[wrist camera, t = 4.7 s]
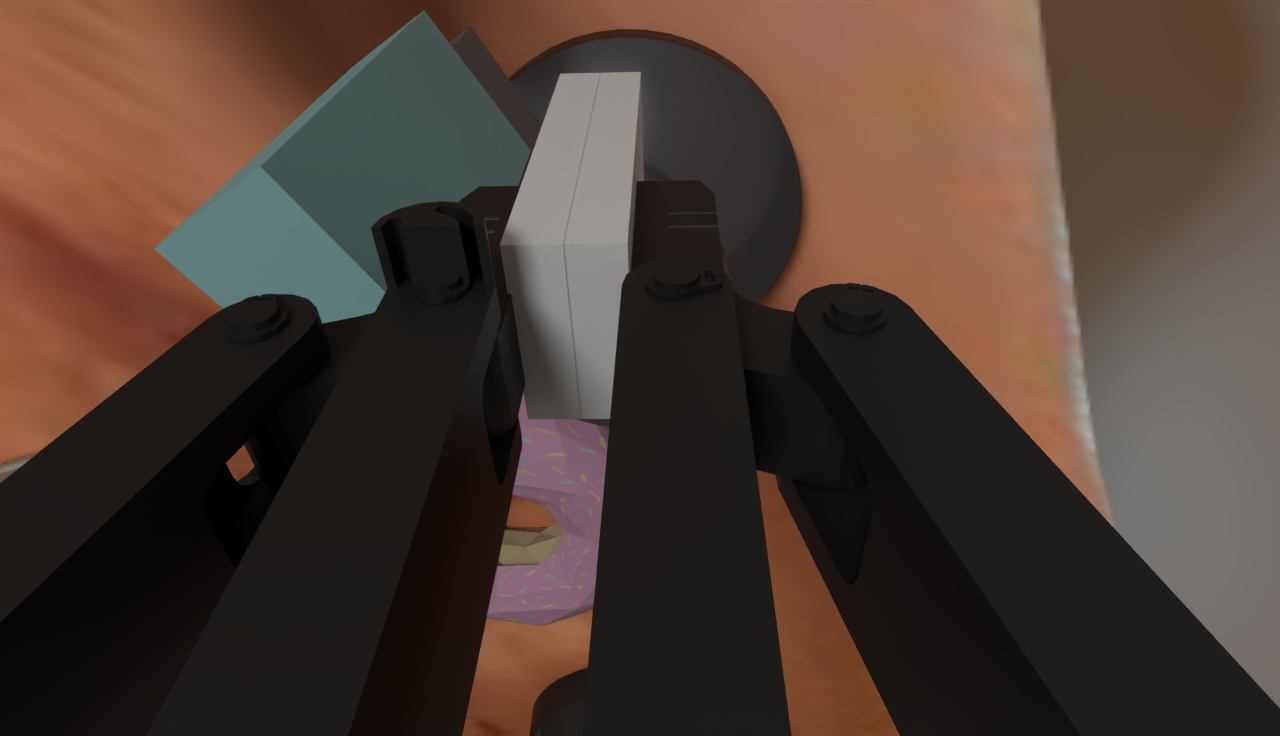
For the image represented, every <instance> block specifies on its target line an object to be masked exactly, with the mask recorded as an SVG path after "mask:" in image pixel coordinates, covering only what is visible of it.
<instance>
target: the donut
mask: <svg viewBox="0 0 1280 736" xmlns="http://www.w3.org/2000/svg"><path fill="white" fill-rule="evenodd" d="M518 416H519V421H520V427H521V433H522V450H521V455H520V460H519V465H518V469H517V474H516V479H515V484H514V489H513V493H512V495H513V496H516V497H520V498H523V499H526V500H529V501H533V502H536V503H539V504H542V505H543V506H544V507H545V508H546V509H547V511H548V512H549V513H550V514H551V515H552V517H553V518H554V519H555V520H556V521H557V522H556V523H554V524H553V525H551V526H550V527H546V528H523V529H505V532H504V537H503V541H502V546H501V551H500V556H499V561H498V565H497V570H496V575H495V580H494V585H493V589H492V594H491V599H490V604H489V609H488V613H487V618H490V619H497V620H503V621H510V622H517V623H524V624H531V625H538V626H544V625H547V624H550V623H553V622H556V621H560V620H563V619H566V618H569V617H572V616H575V615H578V614H581V613H584V612H586V611H588V610H590V609H592V608H593V605H594V594H595V582H596V571H597V560H598V548H599V537H600V526H601V514H602V503H603V492H604V480H605V469H606V458H607V446H608V435H609V427H607V426H600V425H595V424H591V423H587V422H584V421H581V420H578V419H528V417H527V411H526V404H525V398H524V392H523V396H522V401H521V405H520V409H519V414H518Z"/></svg>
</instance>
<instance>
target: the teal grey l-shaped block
mask: <svg viewBox="0 0 1280 736" xmlns="http://www.w3.org/2000/svg"><path fill="white" fill-rule="evenodd" d="M541 127H542V124H541V122H540V121H539V120H538V118H537V117H536V116H535V114H534V113H533V112H532V110H531V109H530V107H529V106H528V105H527V103H526V102H525V101H524V99H523V98H522V97H521V95H520V94H519V92H518V91H517V90H516V88H515V87H514V86H513V84H512V83H511V82H510V80H509V79H508V78H507V76H506V75H505V73H504V72H503V71H502V69H501V68H500V67H499V65H498V64H497V63H496V61H495V60H494V58H493V57H492V56H491V54H490V53H489V52H488V50H487V49H486V48H485V46H484V45H483V43H482V42H481V41H480V39H479V38H478V37H477V35H476V34H475V33H474V31H473V30H472V29H471V27H469V28H467V29H466V30H465V31H463V32H462V33H461V34H460V35H458V36H457V37H456V38H454V39H453V40H452V41H450V42H448V41H447V39H446V38H445V37H444V35H443V34H442V33H441V32H440V30H439V29H438V28H437V26H436V25H435V24H434V22H433V21H432V20H431V18H430V17H429V16H428V14H427V13H426V12H425V10H423V11H422V12H421V13H420V14H418V15H417V16H416V17H415V18H413V19H412V20H411V21H410V22H408V23H407V24H406V25H405V26H403V27H402V28H401V29H400V30H398V31H397V32H396V33H394V34H393V35H392V36H391V37H389V38H388V39H387V40H386V41H384V42H383V43H382V44H381V45H379V46H378V47H377V48H376V49H374V50H373V51H372V52H371V53H369V54H368V55H367V56H366V57H364V58H363V59H362V60H361V61H359V62H358V63H357V64H355V65H354V66H353V67H352V68H351V69H349V70H348V71H347V72H346V73H345V74H344V75H343V76H342V77H341V78H340V79H339V80H338V81H336V82H335V83H334V84H333V85H332V86H331V87H330V88H329V89H328V90H327V91H326V92H324V93H323V94H322V95H321V96H320V97H319V98H318V99H317V100H316V101H315V102H314V103H312V104H311V105H310V106H309V107H308V108H307V109H306V110H305V111H304V112H303V113H302V114H300V115H299V116H298V117H297V118H296V119H295V120H294V121H293V122H292V123H291V124H290V125H289V126H287V127H286V128H285V129H284V130H283V131H282V132H281V133H280V134H279V135H278V136H277V137H275V138H274V139H273V140H272V141H271V142H270V143H269V144H268V145H267V146H266V147H265V148H263V149H262V150H261V151H260V152H259V153H258V154H257V155H256V156H255V157H254V158H253V159H251V160H250V161H249V162H248V163H247V164H246V165H245V166H244V167H243V168H242V169H241V170H240V171H238V172H237V173H236V174H235V175H234V176H233V177H232V178H231V179H230V180H229V181H228V182H226V183H225V184H224V185H223V186H222V187H221V188H220V189H219V190H218V191H217V192H216V193H214V194H213V195H212V196H211V197H210V198H209V199H208V200H207V201H206V202H205V203H204V204H202V205H201V206H200V207H199V208H198V209H197V210H196V211H195V212H194V213H193V214H192V215H191V216H189V217H188V218H187V219H186V220H185V221H184V222H183V223H182V224H181V225H180V226H179V227H177V228H176V229H175V230H174V231H173V232H172V233H171V234H170V235H169V236H168V237H167V238H165V239H164V240H163V241H162V242H161V243H160V244H159V245H158V246H157V247H156V248H155V250H156V251H157V252H158V253H159V254H160V255H162V256H163V257H164V258H165V259H166V260H167V261H169V262H170V263H171V264H172V265H173V266H174V267H176V268H177V269H178V270H179V271H180V272H181V273H183V274H184V275H185V276H186V277H187V278H188V279H190V280H191V281H192V282H193V283H194V284H195V285H197V286H198V287H199V288H200V289H201V290H202V291H203V292H205V293H206V294H207V295H208V296H209V297H210V298H212V299H213V300H214V301H215V302H216V303H217V304H219V305H220V306H221V307H222V308H223V309H224V308H226V307H227V306H230V305H232V304H235V303H238V302H240V301H243V300H244V299H245V298H248V297H252V296H257V295H258V296H261V295H263V294H293V295H297V296H300V297H304V298H307V299H309V300H310V301H311V302H312V303H313V304H314V305H315V306H316V307H317V310H318V313H319V316H320V319H321V321H322V323H327V322H332V321H338V320H343V319H348V318H353V317H358V316H362V315H366V314H370V313H374V312H375V311H376V309H377V307H378V305H379V303H380V302H381V300H382V298H383V296H384V294H385V292H386V291H387V285H386V281H385V278H384V274H383V271H382V267H381V263H380V260H379V256H378V252H377V249H376V245H375V241H374V238H373V234H372V231H371V227H372V226H373V225H374V224H375V223H376V222H377V221H378V220H379V219H380V218H381V217H383V216H385V215H387V214H389V213H391V212H393V211H395V210H397V209H400V208H404V207H407V206H411V205H415V204H419V203H428V202H437V201H445V202H459V201H460V200H461V199H463V198H464V197H465V196H467V195H468V194H470V193H471V192H472V191H474V190H475V189H476V188H478V187H479V186H521V183H522V181H523V178H524V175H525V172H526V169H527V167H528V164H529V161H530V158H531V155H532V152H533V150H534V147H535V144H536V141H537V138H538V135H539V133H540V130H541ZM720 243H721V242H720ZM721 251H722V259H723V267H724V271H725V272H726V273H727V275H728V277H729V279H730V281H731V283H732V277H731V271H730V266H729V261H728V258H727V256H726V253H725V250H724V248H723V246H722V244H721ZM732 287H733V285H732ZM578 420H581V421H584V422H587V423H591V424H595V425H600V426H607V427H609V424H610V419H578Z"/></svg>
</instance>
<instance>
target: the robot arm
mask: <svg viewBox="0 0 1280 736" xmlns="http://www.w3.org/2000/svg"><path fill="white" fill-rule="evenodd" d="M371 231H372V234H373V238H374V241H375V245H376V249H377V252H378V256H379V260H380V263H381V267H382V271H383V274H384V278H385V281H386V285H387V291H386V292H385V294H384V296H383V298H382V300H381V302H380V303H379V305H378V307H377V309H376V311H375V312H374V313H370V314H366V315H362V316H358V317H353V318H348V319H343V320H338V321H332V322H327V323H322V321H321V319H320V316H319V313H318V310H317V307H316V306H315V305H314V304H313V303H312V302H311V301H310V300H309V299H307V298H304V297H300V296H297V295H293V294H263V295H261V296H258V295H257V296H252V297H248V298H245V299H244V300H243V301H240V302H238V303H235V304H232V305H230V306H227V307H226V308H224V309H222V310H221V311H219V312H217V313H216V314H214V315H212V316H211V317H209V318H208V319H207V320H205V321H204V322H203V323H202V324H200V325H199V326H198V327H197V328H195V329H194V330H193V331H192V332H190V333H189V334H188V335H186V336H185V337H184V338H183V339H181V340H180V341H179V342H178V343H176V344H175V345H174V346H173V347H171V348H170V349H169V350H168V351H166V352H165V353H164V354H162V355H161V356H160V357H159V358H157V359H156V360H155V361H154V362H152V363H151V364H150V365H149V366H147V367H146V368H145V369H144V370H142V371H141V372H140V373H138V374H137V375H136V376H135V377H133V378H132V379H131V380H130V381H128V382H127V383H126V384H125V385H123V386H122V387H121V388H119V389H118V390H117V391H116V392H114V393H113V394H112V395H111V396H109V397H108V398H107V399H106V400H104V401H103V402H102V403H101V404H99V405H98V406H97V407H95V408H94V409H93V410H92V411H90V412H89V413H88V414H87V415H85V416H84V417H83V418H82V419H80V420H79V421H78V422H77V423H75V424H74V425H73V426H71V427H70V428H69V429H68V430H66V431H65V432H64V433H63V434H61V435H60V436H59V437H58V438H56V439H55V440H54V441H53V442H51V443H50V444H49V445H47V446H46V447H45V448H44V449H42V450H41V451H40V452H39V453H37V454H36V455H35V456H34V457H32V458H31V459H30V460H29V461H27V462H26V463H25V464H23V465H22V466H21V467H20V468H18V469H17V470H16V471H15V472H13V473H12V474H11V475H10V476H8V477H7V478H6V479H5V480H3V481H2V482H1V483H0V736H462V733H463V729H464V724H465V719H466V714H467V709H468V705H469V700H470V695H471V690H472V685H473V681H474V676H475V671H476V666H477V661H478V657H479V652H480V647H481V642H482V637H483V633H484V628H485V623H486V618H487V613H488V609H489V604H490V599H491V594H492V589H493V585H494V580H495V575H496V570H497V565H498V561H499V556H500V551H501V546H502V541H503V537H504V532H505V527H506V522H507V517H508V513H509V508H510V503H511V498H512V493H513V489H514V484H515V479H516V474H517V469H518V465H519V460H520V455H521V450H522V433H521V427H520V421H519V416H518V414H519V409H520V405H521V401H522V396H523V392H524V398H525V404H526V411H527V417H528V419H610V424H609V435H608V446H607V458H606V469H605V480H604V492H603V503H602V514H601V526H600V537H599V548H598V560H597V571H596V582H595V594H594V605H593V616H592V628H591V639H590V650H589V662H588V669H585V670H581V671H578V672H575V673H572V674H570V675H567V676H565V677H563V678H561V679H559V680H557V681H556V682H554V683H552V684H551V685H550V686H548V687H547V688H546V689H545V690H544V691H543V692H542V693H541V694H540V695H539V697H538V698H537V700H536V702H535V705H534V708H533V715H532V722H531V729H530V736H791V729H790V722H789V714H788V706H787V699H786V691H785V683H784V676H783V668H782V661H781V653H780V645H779V638H778V630H777V622H776V615H775V607H774V600H773V592H772V584H771V577H770V569H769V562H768V554H767V546H766V539H765V531H764V523H763V516H762V508H761V501H760V493H759V485H758V478H757V470H759V471H763V472H767V473H771V474H775V475H776V479H777V483H778V488H779V491H780V493H781V495H782V497H783V499H784V501H785V503H786V505H787V507H788V509H789V511H790V513H791V515H792V517H793V519H794V521H795V523H796V525H797V527H798V529H799V531H800V533H801V535H802V537H803V539H804V541H805V543H806V545H807V547H808V549H809V551H810V554H811V556H812V558H813V560H814V562H815V564H816V566H817V568H818V570H819V572H820V574H821V576H822V578H823V580H824V582H825V584H826V586H827V588H828V590H829V592H830V594H831V596H832V598H833V600H834V602H835V604H836V606H837V608H838V610H839V612H840V615H841V617H842V619H843V621H844V623H845V625H846V627H847V629H848V631H849V633H850V635H851V637H852V639H853V641H854V643H855V645H856V647H857V649H858V651H859V653H860V655H861V657H862V659H863V661H864V663H865V665H866V667H867V669H868V671H869V673H870V675H871V678H872V680H873V682H874V684H875V686H876V688H877V690H878V692H879V694H880V696H881V698H882V700H883V702H884V704H885V706H886V708H887V710H888V712H889V714H890V716H891V718H892V720H893V722H894V724H895V726H896V728H897V730H898V732H899V734H900V736H1280V708H1279V707H1278V706H1277V705H1276V704H1275V703H1274V702H1273V701H1272V700H1271V698H1270V697H1269V696H1268V695H1267V694H1266V693H1265V692H1264V691H1263V690H1262V689H1261V688H1260V686H1259V685H1258V684H1257V683H1256V682H1255V681H1254V680H1253V679H1252V678H1251V677H1250V676H1249V675H1248V673H1247V672H1246V671H1245V670H1244V669H1243V668H1242V667H1241V666H1240V665H1239V664H1238V663H1237V661H1236V660H1235V659H1234V658H1233V657H1232V656H1231V655H1230V654H1229V653H1228V652H1227V651H1226V650H1225V648H1224V647H1223V646H1222V645H1221V644H1220V643H1219V642H1218V641H1217V640H1216V639H1215V638H1214V636H1213V635H1212V634H1211V633H1210V632H1209V631H1208V630H1207V629H1206V628H1205V627H1204V626H1203V625H1202V623H1201V622H1200V621H1199V620H1198V619H1197V618H1196V617H1195V616H1194V615H1193V614H1192V613H1191V611H1190V610H1189V609H1188V608H1187V607H1186V606H1185V605H1184V604H1183V603H1182V602H1181V601H1180V600H1179V598H1178V597H1177V596H1176V595H1175V594H1174V593H1173V592H1172V591H1171V590H1170V589H1169V588H1168V587H1167V585H1166V584H1165V583H1164V582H1163V581H1162V580H1161V579H1160V578H1159V577H1158V576H1157V575H1156V573H1155V572H1154V571H1153V570H1152V569H1151V568H1150V567H1149V566H1148V565H1147V564H1146V563H1145V562H1144V560H1143V559H1142V558H1141V557H1140V556H1139V555H1138V554H1137V553H1136V552H1135V551H1134V550H1133V549H1132V547H1131V546H1130V545H1129V544H1128V543H1127V542H1126V541H1125V540H1124V539H1123V538H1122V536H1121V535H1120V534H1119V533H1118V532H1117V531H1116V530H1115V529H1114V528H1113V527H1112V526H1111V525H1110V523H1109V522H1108V521H1107V520H1106V519H1105V518H1104V517H1103V516H1102V515H1101V514H1100V513H1099V511H1098V510H1097V509H1096V508H1095V507H1094V506H1093V505H1092V504H1091V503H1090V502H1089V501H1088V500H1087V498H1086V497H1085V496H1084V495H1083V494H1082V493H1081V492H1080V491H1079V490H1078V489H1077V488H1076V486H1075V485H1074V484H1073V483H1072V482H1071V481H1070V480H1069V479H1068V478H1067V477H1066V476H1065V475H1064V473H1063V472H1062V471H1061V470H1060V469H1059V468H1058V467H1057V466H1056V465H1055V464H1054V463H1053V461H1052V460H1051V459H1050V458H1049V457H1048V456H1047V455H1046V454H1045V453H1044V452H1043V451H1042V450H1041V448H1040V447H1039V446H1038V445H1037V444H1036V443H1035V442H1034V441H1033V440H1032V439H1031V438H1030V436H1029V435H1028V434H1027V433H1026V432H1025V431H1024V430H1023V429H1022V428H1021V427H1020V426H1019V425H1018V423H1017V422H1016V421H1015V420H1014V419H1013V418H1012V417H1011V416H1010V415H1009V414H1008V413H1007V411H1006V410H1005V409H1004V408H1003V407H1002V406H1001V405H1000V404H999V403H998V402H997V401H996V400H995V398H994V397H993V396H992V395H991V394H990V393H989V392H988V391H987V390H986V389H985V388H984V386H983V385H982V384H981V383H980V382H979V381H978V380H977V379H976V378H975V377H974V376H973V375H972V373H971V372H970V371H969V370H968V369H967V368H966V367H965V366H964V365H963V364H962V363H961V361H960V360H959V359H958V358H957V357H956V356H955V355H954V354H953V353H952V352H951V351H950V350H949V348H948V347H947V346H946V345H945V344H944V343H943V342H942V341H941V340H940V339H939V338H938V336H937V335H936V334H935V333H934V332H933V331H932V330H931V329H930V328H929V327H928V326H927V325H926V323H925V322H924V321H923V320H922V319H921V318H920V317H919V316H918V315H917V314H916V313H915V312H914V310H913V309H912V308H911V307H910V306H909V305H907V304H906V303H905V302H903V301H902V300H901V299H899V298H898V297H897V296H895V295H893V294H891V293H888V292H885V291H883V290H880V289H878V288H875V287H872V286H868V285H860V284H854V283H847V284H830V285H827V286H823V287H819V288H816V289H812V290H811V291H809V292H808V293H806V294H805V295H804V296H802V297H801V298H799V301H798V303H797V305H796V308H795V311H794V312H790V311H785V310H779V309H774V308H770V307H766V306H762V305H758V304H756V303H754V302H751V301H749V300H747V299H745V298H743V297H742V296H740V295H739V294H737V293H736V292H734V291H733V287H732V283H731V281H730V279H729V277H728V275H727V273H726V272H725V271H724V267H723V259H722V251H721V243H720V235H719V227H718V219H717V213H716V203H715V195H714V193H713V192H712V191H711V190H710V189H709V188H707V187H706V186H705V185H704V184H703V183H702V182H701V181H700V180H676V181H644V165H643V130H642V94H641V72H612V73H569V74H560V76H559V79H558V82H557V84H556V87H555V90H554V93H553V96H552V99H551V101H550V104H549V107H548V110H547V113H546V116H545V118H544V121H543V124H542V127H541V130H540V133H539V135H538V138H537V141H536V144H535V147H534V150H533V152H532V155H531V158H530V161H529V164H528V167H527V169H526V172H525V175H524V178H523V181H522V183H521V186H479V187H478V188H476V189H475V190H474V191H472V192H471V193H470V194H468V195H467V196H465V197H464V198H463V199H461V200H460V201H459V202H445V201H437V202H428V203H419V204H415V205H411V206H407V207H404V208H400V209H397V210H395V211H393V212H391V213H389V214H387V215H385V216H383V217H381V218H380V219H379V220H378V221H377V222H376V223H375V224H374V225H373V226H372V227H371ZM243 445H245V447H246V449H247V451H248V453H249V455H250V457H251V459H252V461H253V464H254V466H255V467H254V468H253V469H252V470H251V471H250V472H249V473H248V474H247V475H246V476H245V477H243V478H242V479H240V480H239V481H236V480H235V479H234V478H233V476H232V474H231V472H230V470H229V468H228V466H227V464H226V462H227V461H228V460H229V459H230V458H231V457H232V456H233V455H234V454H235V453H236V452H237V451H238V450H239V449H240V448H241V447H242V446H243Z"/></svg>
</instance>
